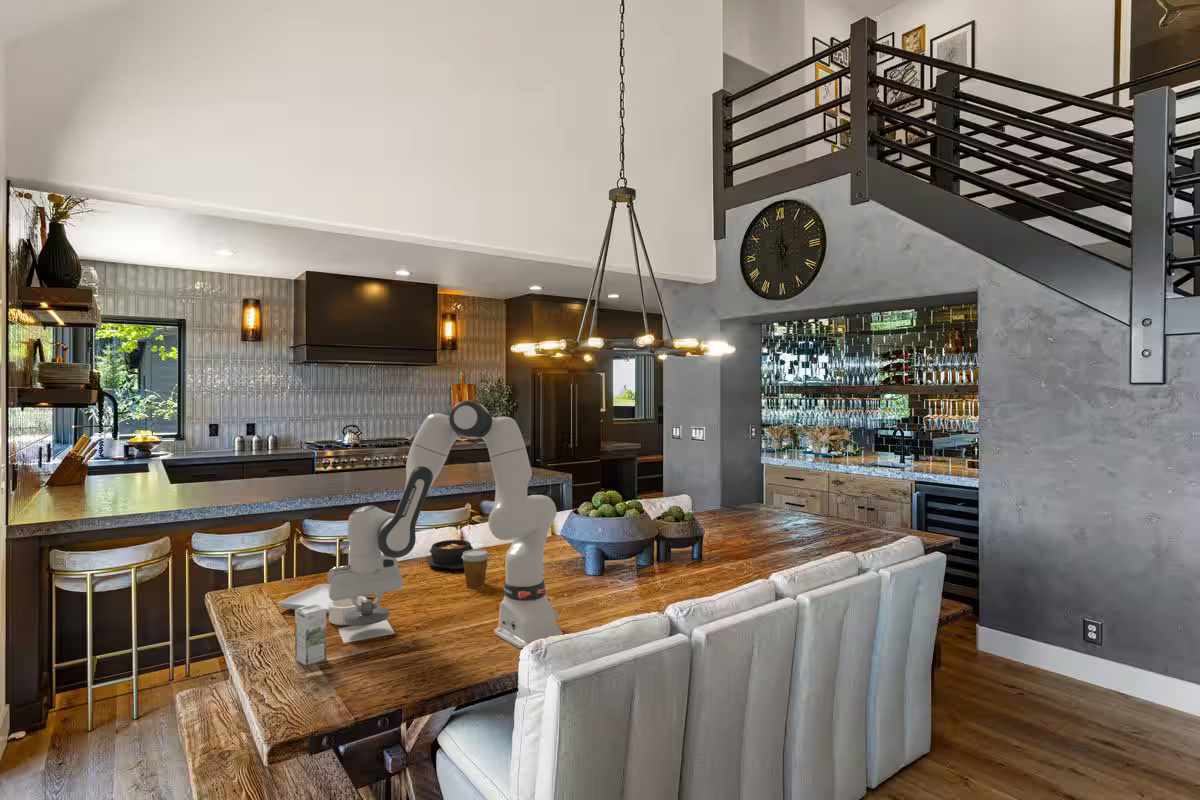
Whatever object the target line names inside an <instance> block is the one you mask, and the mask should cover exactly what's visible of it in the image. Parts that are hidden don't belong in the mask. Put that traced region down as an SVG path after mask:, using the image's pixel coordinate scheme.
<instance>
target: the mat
mask: <svg viewBox="0 0 1200 800" xmlns="http://www.w3.org/2000/svg"><path fill="white" fill-rule="evenodd" d="M337 630H338V633H339V636H340V638H341V640H342V642H343V644H346V643H351V642H357V641H362V640H368V639H373V638H378V637H383V636H390V635H394V634H396V633H395V631H394V629H393V628H392V626H391V624H390V622H389V621H388V620H387V619H385V620H383V621H381V622H378V623H375V624H370V625H360V626H356V625H349V626H345V627H339V628H337Z"/></svg>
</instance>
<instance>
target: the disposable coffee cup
mask: <svg viewBox="0 0 1200 800" xmlns="http://www.w3.org/2000/svg"><path fill="white" fill-rule="evenodd" d="M489 556H490V554H489V553H488V551H487V550H485V549H473V550H468V551H465V552H463V556H462V559H463V563H464V568H463V571H464V576H465V577H464V578H465V582H466V583H465V584H466V587H467V588H468V587H470V588H469V589H479V588H478V587H480V588H483V587H484V586H485V582H486V575H487V566H488V565H487V564H488V558H489ZM482 586H483V587H482Z"/></svg>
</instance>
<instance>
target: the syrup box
mask: <svg viewBox="0 0 1200 800" xmlns="http://www.w3.org/2000/svg"><path fill="white" fill-rule="evenodd" d="M294 633H295V634H294V638H295V641H294V643H295V644H294V647H295V650H294V651H295V653H294V655H295V656H294V658H295V661H296V662H298V663H300V664H302V665H304V666H309V665H311V664H315V663H318V662H320V661H323V660H326V659H327V614H326V609H325V608H324V607H322V606H321V605H318V604H312V605H309V606H305V607H302V608H298V609H295V610H294Z"/></svg>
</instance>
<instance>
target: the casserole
mask: <svg viewBox="0 0 1200 800" xmlns="http://www.w3.org/2000/svg"><path fill="white" fill-rule="evenodd" d="M468 550H474V548H473V546H472V544H471V542H470V541H468V540H464V539H463V540H462V539H447V540H441V541H437V542H435V543H433V544H432V545H431V548H430V549H429V553H430V555H428V556H427V557H426V560H427V564H429V565H430V566H432V567H436V568H440V569H445V568H447V570H448V569H449V568H450V570H458V569H459V570H460V569H464V563H463V559H462V556H463V552H465V551H468Z"/></svg>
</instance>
